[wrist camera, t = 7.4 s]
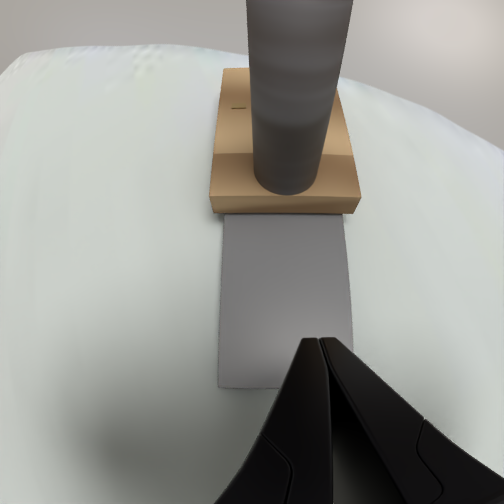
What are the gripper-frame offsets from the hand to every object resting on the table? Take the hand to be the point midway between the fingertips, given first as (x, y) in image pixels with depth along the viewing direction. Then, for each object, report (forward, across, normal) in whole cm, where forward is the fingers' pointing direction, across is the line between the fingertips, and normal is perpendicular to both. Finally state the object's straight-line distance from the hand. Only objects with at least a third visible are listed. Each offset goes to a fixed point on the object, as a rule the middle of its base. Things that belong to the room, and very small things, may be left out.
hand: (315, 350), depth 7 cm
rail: (+10, 0, 0) cm, 10 cm away
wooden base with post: (+13, 0, -5) cm, 13 cm away
